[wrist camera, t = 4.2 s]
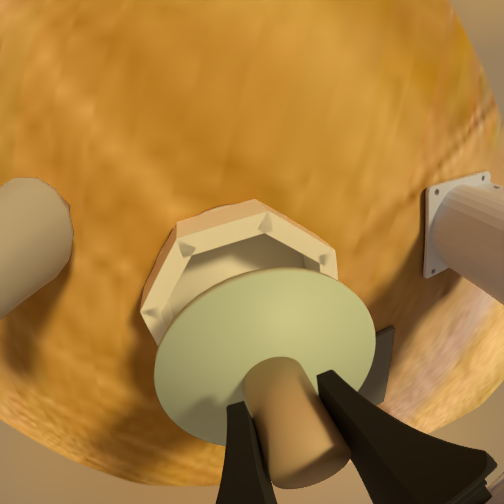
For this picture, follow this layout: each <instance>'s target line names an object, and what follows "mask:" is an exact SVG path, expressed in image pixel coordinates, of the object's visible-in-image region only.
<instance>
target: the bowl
mask: <svg viewBox="0 0 504 504" xmlns="http://www.w3.org/2000/svg"><path fill="white" fill-rule="evenodd" d="M271 267H299V268H305V269H310V270H315V271H318V272H321V273H324V274H327V275H329V276H331V277H332V278H334V279H336V280H338V274H337V263H336V253H335V250H334V249H333V248H332V247H330V246H329V245H328V244H327V243H326V242H324V241H323V240H322V239H321V238H319V237H318V236H317V235H316V234H314V233H312V232H311V231H309V230H308V229H306V228H304V227H303V226H301V225H299V224H298V223H296V222H294V221H293V220H291V219H290V218H288V217H287V216H285V215H284V214H282V213H280V212H278V211H276V210H274V209H272V208H271V207H269V206H267V205H265V204H264V203H262V202H260V201H258V200H257V199H252V200H249V201H245V202H242V203H237V204H227V205H222V206H218V207H214V208H211V209H209V210H206V211H203V212H201V213H199V214H198V215H196V216H194V217H191V218H188V219H185V220H182V221H179V222H177V223H176V225H175V226H174V228H173V230H172V232H171V234H170V236H169V238H168V240H167V241H166V242H165V244H164V246H163V247H162V249H161V251H160V253H159V255H158V257H157V260H156V262H155V266H154V268H153V270H152V272H151V274H150V276H149V278H148V280H147V282H146V284H145V286H144V290H143V296H142V302H141V308H140V313H141V315H142V317H143V319H144V321H145V323H146V325H147V327H148V329H149V331H150V332H151V334H152V336H153V338H154V340H155V342H156V344H157V345H158V346H159V343H160V341H161V338H162V336H163V334H164V332H165V330H166V329H167V327H168V326H169V324H170V323H171V321H172V320H173V318H174V317H175V316H176V315H177V314H178V313H179V312H180V311H181V310H182V308H183V307H184V306H185V305H186V304H188V303H189V302H190V301H191V300H193V299H194V298H195V297H196V296H197V295H199V294H200V293H202V292H203V291H205V290H207V289H208V288H210V287H211V286H213V285H215V284H217V283H219V282H221V281H223V280H226V279H228V278H230V277H233V276H236V275H239V274H242V273H245V272H248V271H253V270H258V269H263V268H271Z"/></svg>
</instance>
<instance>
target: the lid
mask: <svg viewBox="0 0 504 504" xmlns="http://www.w3.org/2000/svg"><path fill="white" fill-rule="evenodd" d="M375 344H376V340H375V329H374V324H373V321H372V318H371V315H370V313H369V311H368V309H367V308H366V306H365V304H364V303H363V302H362V301H361V300H360V298H359V297H358V296H357V295H356V294H355V293H354V292H352V291H351V290H350V289H349V288H348V287H346V286H345V285H344V284H342V283H341V282H340V281H338V280H336V279H334V278H332V277H331V276H329V275H327V274H324V273H321V272H318V271H315V270H310V269H305V268H299V267H271V268H263V269H258V270H253V271H248V272H245V273H242V274H239V275H236V276H233V277H230V278H228V279H226V280H223V281H221V282H219V283H217V284H215V285H213V286H211V287H210V288H208V289H207V290H205V291H203V292H202V293H200V294H199V295H197V296H196V297H195V298H194V299H193V300H191V301H190V302H189V303H188V304H186V305H185V306H184V307H183V308H182V310H181V311H180V312H179V313H178V314H177V315H176V316H175V317H174V318H173V320H172V321H171V323H170V324H169V326H168V327H167V329H166V330H165V332H164V334H163V336H162V338H161V341H160V343H159V346H158V350H157V353H156V360H155V369H154V383H155V389H156V393H157V397H158V399H159V401H160V404H161V406H162V408H163V409H164V411H165V412H166V413H167V415H168V416H169V417H170V418H171V419H172V420H173V421H174V422H175V423H176V424H177V425H178V426H179V427H180V428H182V429H183V430H184V431H186V432H188V433H189V434H191V435H193V436H195V437H197V438H199V439H201V440H204V441H207V442H210V443H213V444H217V445H222V446H226V438H227V411H226V407H227V406H228V405H231V404H234V403H238V402H241V401H244V402H245V404H246V406H247V409H248V411H249V413H250V415H251V417H252V420H253V423H254V426H255V430H256V433H257V436H258V440H259V443H260V447H261V450H262V453H263V456H264V459H265V462H266V465H267V468H268V472H269V475H270V478H271V481H272V483H273V485H275V486H276V487H279V488H282V489H297V488H303V487H307V486H311V485H313V484H316V483H319V482H321V481H323V480H325V479H327V478H329V477H331V476H333V475H334V474H336V473H337V472H338V471H339V470H341V469H342V468H343V467H344V466H345V465H346V464H347V463H348V461H349V460H350V457H351V450H350V449H349V447H348V445H347V443H346V442H345V440H344V438H343V437H342V435H341V433H340V431H339V430H338V428H337V426H336V425H335V423H334V421H333V419H332V418H331V416H330V414H329V413H328V411H327V409H326V407H325V406H324V404H323V402H322V400H321V399H320V397H319V395H318V386H317V377H316V375H318V374H321V373H323V372H326V371H328V370H331V369H332V370H334V371H335V372H336V373H337V374H338V375H339V376H340V377H341V378H342V379H343V380H344V381H345V382H347V383H348V384H349V385H350V386H351V387H352V388H354V389H355V390H356V391H357V392H358V390H359V389H360V387H361V386H362V384H363V382H364V380H365V379H366V377H367V375H368V372H369V370H370V367H371V365H372V361H373V357H374V353H375Z"/></svg>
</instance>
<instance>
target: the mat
mask: <svg viewBox="0 0 504 504" xmlns="http://www.w3.org/2000/svg"><path fill="white" fill-rule="evenodd" d="M394 329H395V328H394V327H393V326H390V327H388V328H386V329H384V330H382V331H380V332H378V333H376V334H375V340H376V344H375V353H374V357H373V361H372V365H371V367H370V370H369V372H368V375H367V377H366V379H365V380H364V382H363V384H362V386H361V387H360V389H359V390H358V393H360V394H361V395H362V396H363V397H365V398H366V399H367V400H369V401H370V402H372V403H373V404H374V405H378V404H380V403H382V402H384V397H385V392H386V386H387V381H388V375H389V368H390V362H391V354H392V347H393V338H394Z"/></svg>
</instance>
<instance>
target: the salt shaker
mask: <svg viewBox="0 0 504 504" xmlns="http://www.w3.org/2000/svg"><path fill="white" fill-rule="evenodd" d="M73 236H74V230H73V226H72V221H71V216H70V205H69V204H68V203H67V202H66V201H65V200H64V199H63V198H62V197H61V196H60V195H59V193H58V192H57V190H56V189H55V188H53V187H52V186H50V185H49V184H47V183H45V182H44V181H42V180H40V179H39V178H13V179H11V180H10V181H8V182H7V183H5V184H4V185H2V186H1V187H0V320H1V319H2V318H3V317H4V316H6V315H7V314H8V313H9V312H11V311H12V310H13V309H14V308H16V307H17V306H18V305H20V304H21V303H22V302H23V301H25V300H26V299H27V298H29V297H30V296H31V295H33V294H34V293H35V292H37V291H38V290H39V289H41V288H42V287H43V286H45V285H46V284H47V283H49V282H50V281H52V280H53V279H54V278H56V277H57V276H58V274H59V273H60V272H61V270H62V269H63V268H64V266H65V265H66V264H67V262H68V261H69V258H70V256H71V249H72V243H73Z"/></svg>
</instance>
